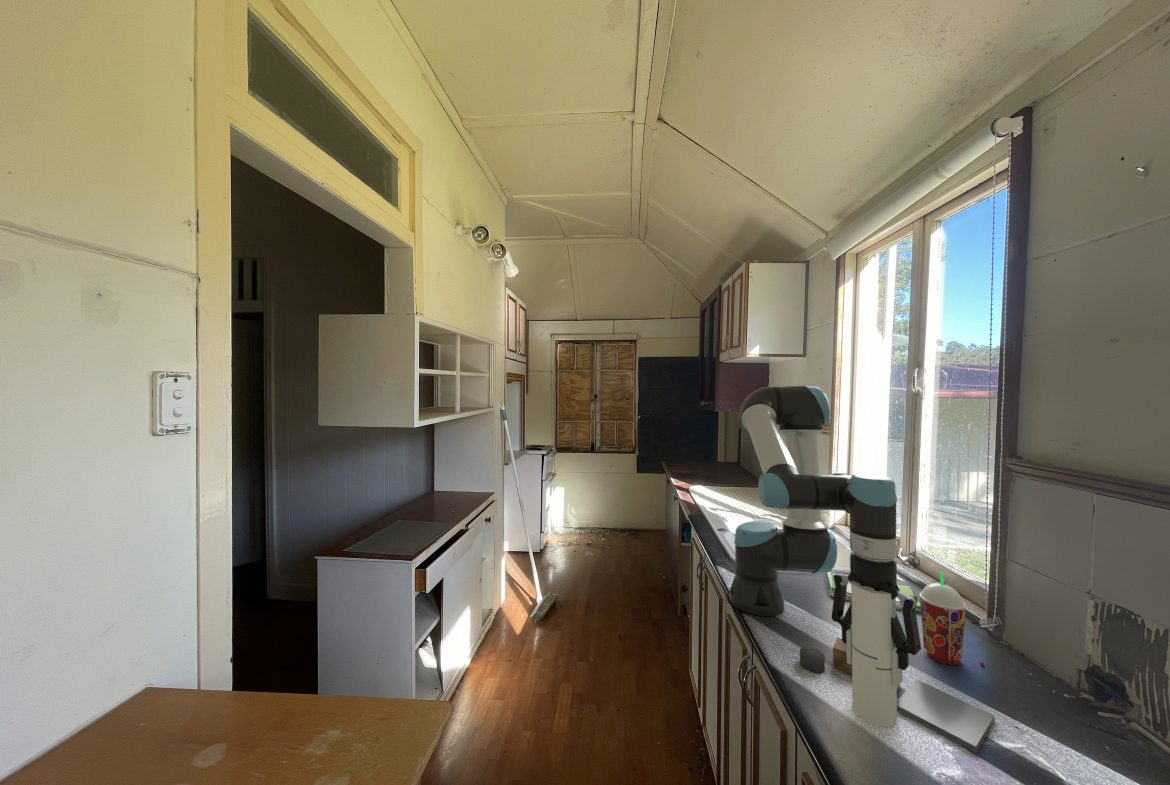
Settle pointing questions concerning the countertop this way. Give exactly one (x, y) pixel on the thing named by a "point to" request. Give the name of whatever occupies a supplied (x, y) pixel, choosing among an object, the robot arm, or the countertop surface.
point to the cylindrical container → (873, 656)
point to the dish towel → (831, 588)
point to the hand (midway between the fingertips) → (873, 671)
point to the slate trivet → (946, 715)
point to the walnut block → (841, 657)
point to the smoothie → (942, 622)
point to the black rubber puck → (812, 660)
